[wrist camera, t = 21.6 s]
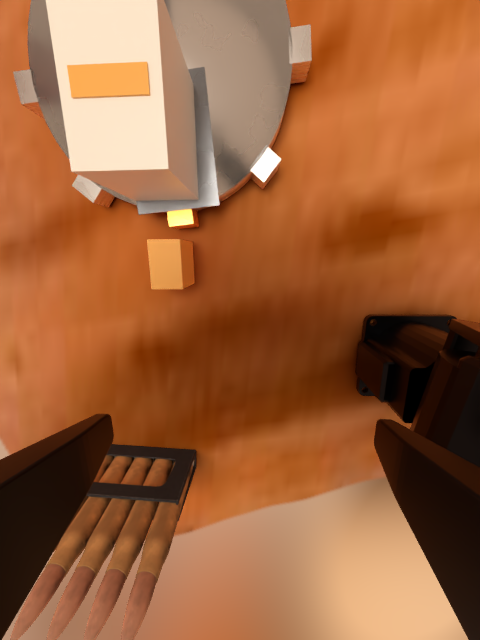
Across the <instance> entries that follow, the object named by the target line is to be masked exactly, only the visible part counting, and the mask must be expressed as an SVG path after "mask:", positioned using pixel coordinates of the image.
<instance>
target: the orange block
mask: <svg viewBox="0 0 480 640" xmlns="http://www.w3.org/2000/svg"><path fill="white" fill-rule="evenodd" d="M147 245H148V256H149V267H150V279H151V289H184V288H186V287H188V286H190V285H192V284H194V283H195V277H194V256H193V242H191V241H186V240H182V239H147Z"/></svg>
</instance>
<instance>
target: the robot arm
mask: <svg viewBox="0 0 480 640" xmlns="http://www.w3.org/2000/svg"><path fill="white" fill-rule="evenodd" d="M372 319H374V323H373V324H370V321H371V320H372ZM448 320H450V323H449V324H447V321H448ZM356 374H357V375H358V379H357V391H358V392H359V393H360V394H361V395H363V396H376V397H377V398H378V399H379V400H380V401H381V402H386V403H387V404H388V405H389V406H390V407H391V408H392V409H393V410H394V412H395V413H396V414H397V415H398V416H399V417H400V418H401V419H402V420H403V421H404V422H405V423H412V425H411V428H410V429H408V428H406V427H404V426H402V425H400V424H399V423H397V422H395V421H393V420H387V419H380V420H378V421H377V424H376V431H375V438H374V446H375V449H376V452H377V454H378V457H379V459H380V462H381V464H382V467H383V469H384V472H385V474H386V477H387V479H388V482H389V484H390V486H391V489H392V491H393V494H394V496H395V498H396V500H397V502H398V504H399V506H400V508H401V510H402V512H403V514H404V516H405V518H406V519H407V522H408V523H409V525H410V527H411V529H412V531H413V533H414V535H415V537H416V539H417V541H418V543H419V545H420V546H421V549H422V550H423V552H424V554H425V556H426V558H427V560H428V562H429V564H430V566H431V568H432V570H433V572H434V574H435V575H436V577H437V579H438V581H439V583H440V585H441V587H442V589H443V591H444V593H445V595H446V597H447V599H448V601H449V603H450V605H451V606H452V608H453V610H454V612H455V614H456V616H457V618H458V620H459V622H460V623H461V626H462V628H463V629H464V632H465V633H466V635H467V637H468V639H469V640H480V323H476V322H470V321H464V320H458V319H457V318H456V317H454V316H451V315H368V316H367V317H366V318H365V320H364V326H363V335H362V341H361V342H360V343H359V344H358V354H357V363H356ZM364 387H366V389H365V390H362V388H364ZM113 437H114V434H113V427H112V420H111V416H110V415H109V414H96V415H93V416H91V417H89V418H87V419H85V420H83V421H81V422H79V423H77V424H75V425H72V426H70V427H68V428H66V429H64V430H62V431H60V432H58V433H56V434H53V435H51V436H49V437H47V438H45V439H43V440H41V441H39V442H37V443H35V444H32V445H30V446H28V447H26V448H24V449H22V450H20V451H18V452H16V453H14V454H11V455H9V456H7V457H5V458H3V459H1V460H0V640H2V638H3V636H4V635H5V633H6V631H7V630H8V628H9V626H10V625H11V623H12V621H13V619H14V618H15V616H16V614H17V613H18V611H19V609H20V607H21V606H22V604H23V602H24V601H25V599H26V597H27V595H28V594H29V592H30V590H31V589H32V587H33V585H34V583H35V582H36V580H37V579H38V577H39V575H40V573H41V572H42V570H43V568H44V567H45V565H46V563H47V561H48V560H49V558H50V556H51V555H52V553H53V551H54V550H55V548H56V546H57V544H58V543H59V541H60V539H61V538H62V536H63V534H64V532H65V531H66V529H67V527H68V526H69V524H70V522H71V521H72V519H73V517H74V515H75V514H76V512H77V510H78V509H79V507H80V505H81V503H82V502H83V500H84V498H85V497H86V495H87V493H88V491H89V490H90V488H91V486H92V484H93V482H94V480H95V478H96V476H97V474H98V472H99V470H100V467H101V465H102V463H103V461H104V459H105V457H106V455H107V452H108V450H109V448H110V446H111V444H112V442H113Z"/></svg>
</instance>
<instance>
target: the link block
mask: <svg viewBox="0 0 480 640" xmlns="http://www.w3.org/2000/svg"><path fill="white" fill-rule="evenodd" d="M46 6H47V12H48V19H49V26H50V32H51V39H52V46H53V52H54V59H55V65H56V72H57V79H58V85H59V92H60V99H61V105H62V112H63V119H64V125H65V132H66V139H67V145H68V152H69V159H70V165H71V172H74V173H76V174H78V175H80V176H82V177H85V178H87V179H89V180H91V181H93V182H95V183H98V184H100V185H102V186H104V187H106V188H109V189H111V190H113V191H115V192H117V193H120V194H122V195H124V196H126V197H128V198H130V199H133V200H135V201H153V200H199V198H198V176H197V153H196V131H195V108H194V86H193V82H192V79H191V76H190V73H189V71H188V68H187V65H186V62H185V59H184V56H183V53H182V50H181V48H180V45H179V42H178V39H177V36H176V33H175V30H174V27H173V25H172V22H171V19H170V16H169V13H168V10H167V7H166V4H165V1H164V0H46Z"/></svg>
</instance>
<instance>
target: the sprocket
mask: <svg viewBox="0 0 480 640" xmlns="http://www.w3.org/2000/svg"><path fill="white" fill-rule="evenodd" d="M164 1H165V4H166V7H167V10H168V13H169V16H170V19H171V22H172V25H173V27H174V30H175V33H176V36H177V39H178V42H179V45H180V48H181V50H182V53H183V56H184V59H185V62H186V65H187V68H188V71H189V73H190V76H191V79H192V82H193V86H194V108H195V131H196V153H197V176H198V198H199V200H153V201H135V200H133V199H130V198H128V197H126V196H124V195H122V194H120V193H117V192H115V191H113V190H111V189H109V188H106V187H104V186H102V185H100V184H98V183H95V182H93V181H91V180H89V179H87V178H85V177H82V176H80V175H78V176H77V178H76V179H75V181H74V183H73V184H72V186H73V187H74V188H76V189H77V190H78V191H79V192H81V193H82V194H83V195H84V196H86V197H87V198H88V199H89V200H90V201H92V202H93V203H96V204H99V205H102V206H105V207H109V206H110V204H111V203H112V201H113V199H114V198H115V197H117V198H119V199H121V200H124V201H126V202H129V203H131V204H134V205H136V206H137V208H138V213H139V215H142V214H150V213H159V212H162V213H167V216H168V222H169V227H172V228H175V229H183V228H192V227H199V222H198V214H197V211H199V210H202V209H205V208H208V207H211V206H220V203H219V202H221V201H223V200H225V199H227V198H228V197H230V196H231V195H233V194H234V193H236V192H237V191H238V190H239V189H240V188H242V187H243V186H244V185H245V184H246V183H247V182H248V181H249V180H250V179H252V180H253V181H254V182H255V183H256V184H257V185H258V186H260V187H261V188H262V189H263V188H264V187H265V186H266V184H267V183H268V182H269V181H270V179H271V178H272V177H273V175H274V174H275V173H276V171H277V170H278V169H279V165H280V162H281V158H280V157H279V156H277V155H276V154H275V153H274V152H273V151H272V150H271V148H272V146H273V144H274V142H275V140H276V138H277V135H278V132H279V129H280V126H281V124H282V119H283V115H284V111H285V107H286V102H287V98H288V93H289V89H290V84H292V83H299V82H305V80H306V77H307V74H308V71H309V67H310V64H311V61H312V59H311V25H305V26H298V27H292V28H291V26H290V20H289V15H288V10H287V5H286V1H285V0H164ZM28 54H29V65H30V69H29V70H22V71H16V72H13V73H14V77H15V81H16V85H17V89H18V93H19V97H20V101H21V104H22V105H23V106H25V107H27V108H28V109H30V110H31V111H33V112H34V113H36V114H37V115H39V116H40V117H42V118H43V119H45V121H46V123H47V125H48V127H49V129H50V130H51V132H52V134H53V136H54V138H55V140H56V141H57V143H58V144H59V146H60V147H61V149H62V150H63V151H64V153H65V154H66V156H67V157H68V158H69V152H68V145H67V139H66V132H65V125H64V119H63V112H62V105H61V99H60V92H59V85H58V79H57V72H56V65H55V59H54V52H53V46H52V39H51V32H50V26H49V19H48V12H47V6H46V0H31V5H30V13H29V21H28Z"/></svg>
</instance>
